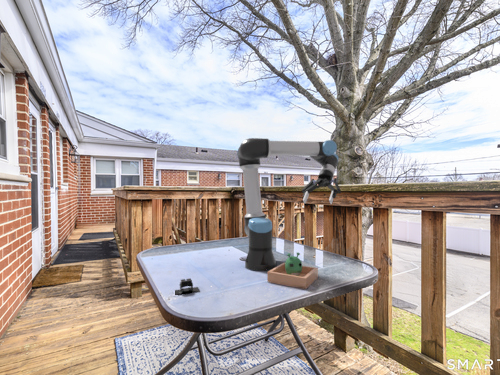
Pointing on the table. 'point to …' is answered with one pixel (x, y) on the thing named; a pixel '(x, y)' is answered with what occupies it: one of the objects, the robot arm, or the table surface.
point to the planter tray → (293, 276)
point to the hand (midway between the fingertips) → (316, 202)
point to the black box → (186, 290)
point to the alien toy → (293, 265)
